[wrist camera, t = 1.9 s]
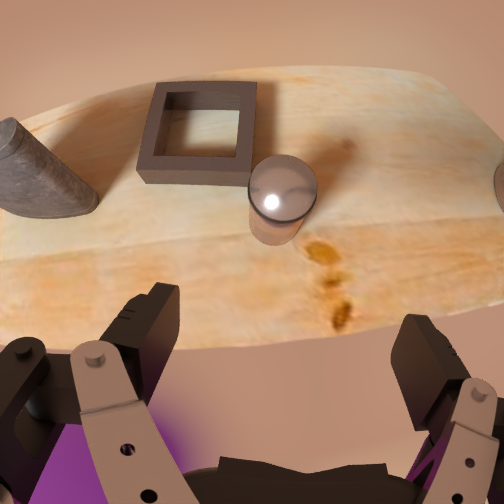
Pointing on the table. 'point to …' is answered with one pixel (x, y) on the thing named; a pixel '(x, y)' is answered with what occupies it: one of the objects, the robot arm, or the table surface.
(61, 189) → the flask
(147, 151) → the square frame
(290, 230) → the silver metal cylinder
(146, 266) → the table surface
